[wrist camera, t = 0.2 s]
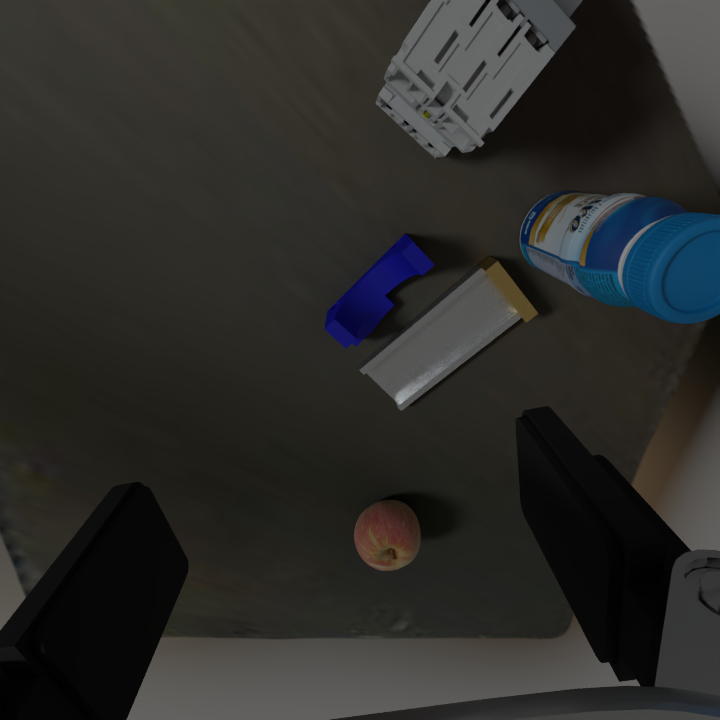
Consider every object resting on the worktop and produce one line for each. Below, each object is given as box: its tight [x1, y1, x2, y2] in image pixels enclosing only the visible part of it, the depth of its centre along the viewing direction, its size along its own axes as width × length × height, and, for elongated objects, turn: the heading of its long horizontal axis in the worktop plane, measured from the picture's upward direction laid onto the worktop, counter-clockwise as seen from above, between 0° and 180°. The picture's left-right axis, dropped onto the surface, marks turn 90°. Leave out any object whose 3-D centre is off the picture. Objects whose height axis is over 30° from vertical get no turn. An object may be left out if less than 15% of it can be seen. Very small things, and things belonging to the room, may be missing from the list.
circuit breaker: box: [376, 0, 583, 158], centre depth 30 cm, size 8×14×15 cm, turn 142°
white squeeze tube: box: [359, 256, 538, 411], centre depth 46 cm, size 8×19×3 cm, turn 133°
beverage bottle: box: [520, 191, 720, 324], centre depth 34 cm, size 8×8×20 cm
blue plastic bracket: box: [325, 233, 434, 348], centre depth 43 cm, size 12×4×6 cm, turn 135°
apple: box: [354, 500, 421, 571], centre depth 55 cm, size 9×9×8 cm
